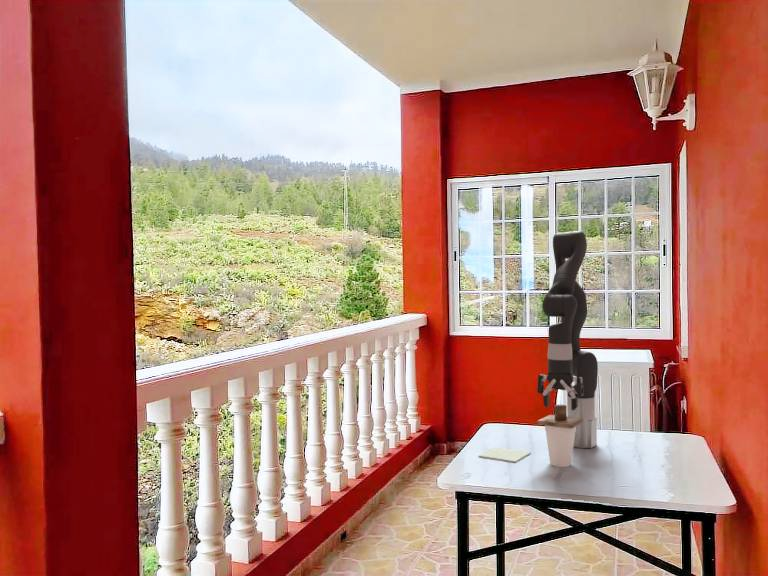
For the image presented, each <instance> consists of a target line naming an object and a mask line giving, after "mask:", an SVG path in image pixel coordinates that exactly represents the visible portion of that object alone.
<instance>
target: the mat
mask: <svg viewBox="0 0 768 576" xmlns="http://www.w3.org/2000/svg"><path fill="white" fill-rule="evenodd" d="M530 455H531V452H530V451H523V450H517V449H511V448H510V449H509V448H505V447H504V448H503V447H497V446H494V447H493V448H490V449H489V450H487V451H485V452H482V453H481V454H479V455H478V458H482V459H483V458H484V459H490V460H493V461H494V460H497V461H501V462H506V463H507V462H508V463H514V464H516V463H517V462H518V463H519V462H520V461H521V460H522V459H525V458H526V457H528V456H530Z"/></svg>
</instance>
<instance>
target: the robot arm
mask: <svg viewBox="0 0 768 576" xmlns="http://www.w3.org/2000/svg"><path fill="white" fill-rule="evenodd" d="M587 247H588V242H587V238H586V234H585V233H584V232H583V231H581V230H573V231H572V230H571V231H565V232H563V231H562V232H557V233H555V234H553V237H552V249H553V256H554V262H555V268H556V271H555V274H554V276H553V280H552V284H551V287H550V289H549V290H548V291H547V292H546V294H545V296H544V298H543V301H542V305H541V306H542V307H541V308H542V311H543V314H544V315H545V316H548V317H550V318H551V317H553V318H555V317H556V318H558V317H559V318H561V319H560V320H561V322H559V323H556V324H555V323H554V324H551V325H549V326H548V346H547V347H548V348H547V375H546V374H544V373H541V374H538V376H537V387H536V388H537V391H536V392H537V394H540V395H542V396H543V398H542V399H543V402H542V403H543V406H544V408H546V409H548V408H550V406H551V405H550V402H551V400H550V399H551V398H550V394H551V392H552V391H553V390H561V391H566V392H567V398H566V399H567V405H566V414H567V417H575V418H583V423H581V424H579V425H578V426H576V432H575V437H574V445H573V448H579V449H588V448H589V449H593V448H594V447H596V446H597V444H598V441H597V440H598V438H597V435H598V434H597V431H598V430H597V425H598V423H597V422H598V421H597V419H598V418H597V417H596V415H595V414H596V407H595V406H596V404H595V402H596V401H595V400H596V399H595V394H596V391H597V387H598V372H599V368H598V367H599V365H598V359H597V357H596V355H595V354H594V353H593V352H590V351H584V350H581V343H580V342H581V341H580V336H581V332H582V330H583V327H584V325H585V323H586V320H587V316H588V303H587V294H586V292H585V290H584V288H582V286H581V285H580V284H579V282H578V281H577V277H578V274H579V271H580V268H581V266H582V264H583V261H584V259H585V256H586V254H587ZM566 259H567V260H566ZM546 381H547V382H548V383H549V384H548V385H547V386H546V388H545V382H546ZM573 382H574V385H572V384H573ZM544 388H545V389H544Z"/></svg>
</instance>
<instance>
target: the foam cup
mask: <svg viewBox="0 0 768 576" xmlns="http://www.w3.org/2000/svg"><path fill="white" fill-rule="evenodd" d="M544 431H545V434H546V436H545V437H546V441H547V442H546V443H547V449H548V450H547V451H548V457H549V464H550V465H551V466H554V467H558V468H559V467H560V468H562V467H563V468H565V467H570V466H571V465H572V461H573V460H572V459H573V453H574V452H573V451H574V447H573V445H574V437H575V432H576V427H574V428H572V429H570V428H562V427H554V426H546V425H544Z"/></svg>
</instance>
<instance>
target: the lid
mask: <svg viewBox="0 0 768 576" xmlns="http://www.w3.org/2000/svg"><path fill="white" fill-rule="evenodd" d="M581 423H583V418H575V417H567V405H565V404H555V405H554V414H549V415H546V416H545V417H542V418H541V419H538V420H537V425H540V426H545V425H546V426H554V427H562V428H570V429H572V428H574V427H576V426H578V425H579V424H581Z"/></svg>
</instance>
